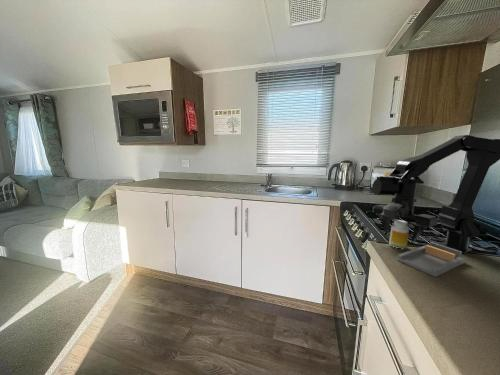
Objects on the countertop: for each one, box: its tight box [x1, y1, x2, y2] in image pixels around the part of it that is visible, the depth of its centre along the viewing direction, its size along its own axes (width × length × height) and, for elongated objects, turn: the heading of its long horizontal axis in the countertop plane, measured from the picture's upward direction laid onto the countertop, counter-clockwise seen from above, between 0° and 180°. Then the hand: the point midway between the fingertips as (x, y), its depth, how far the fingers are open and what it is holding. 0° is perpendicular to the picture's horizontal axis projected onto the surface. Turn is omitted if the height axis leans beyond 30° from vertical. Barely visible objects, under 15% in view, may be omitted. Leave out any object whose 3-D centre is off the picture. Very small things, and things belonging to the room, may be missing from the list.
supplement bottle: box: [388, 219, 410, 250], centre depth 76 cm, size 5×5×10 cm
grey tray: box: [396, 241, 466, 278], centre depth 65 cm, size 18×10×3 cm, turn 116°
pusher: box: [424, 244, 455, 261], centre depth 68 cm, size 1×7×3 cm, turn 26°
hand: (399, 236), depth 76 cm, fingers open, 9 cm apart
